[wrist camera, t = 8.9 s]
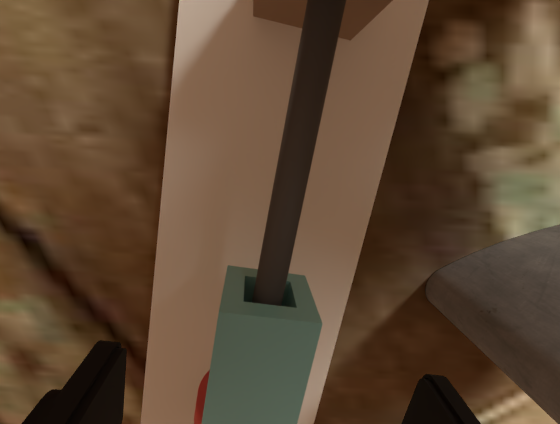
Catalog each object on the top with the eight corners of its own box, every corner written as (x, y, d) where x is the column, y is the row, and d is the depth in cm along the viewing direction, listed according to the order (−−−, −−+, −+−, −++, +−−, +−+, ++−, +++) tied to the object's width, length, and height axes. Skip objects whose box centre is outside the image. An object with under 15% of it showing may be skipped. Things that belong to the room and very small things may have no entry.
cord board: (192, -61, 14) (82, -407, 5) (418, 1, 16) (644, -179, 7) (145, 422, 21) (65, 637, 12) (304, 432, 23) (338, 629, 14)
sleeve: (227, 265, 13) (218, 311, 10) (305, 275, 14) (322, 323, 10) (213, 357, 14) (200, 429, 11) (284, 364, 15) (294, 434, 11)
